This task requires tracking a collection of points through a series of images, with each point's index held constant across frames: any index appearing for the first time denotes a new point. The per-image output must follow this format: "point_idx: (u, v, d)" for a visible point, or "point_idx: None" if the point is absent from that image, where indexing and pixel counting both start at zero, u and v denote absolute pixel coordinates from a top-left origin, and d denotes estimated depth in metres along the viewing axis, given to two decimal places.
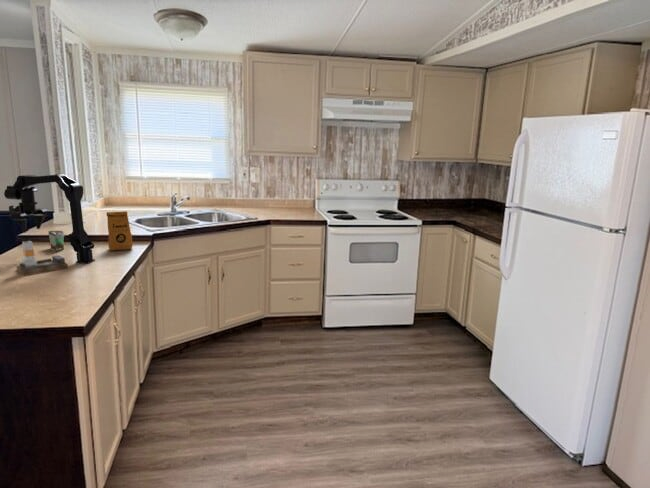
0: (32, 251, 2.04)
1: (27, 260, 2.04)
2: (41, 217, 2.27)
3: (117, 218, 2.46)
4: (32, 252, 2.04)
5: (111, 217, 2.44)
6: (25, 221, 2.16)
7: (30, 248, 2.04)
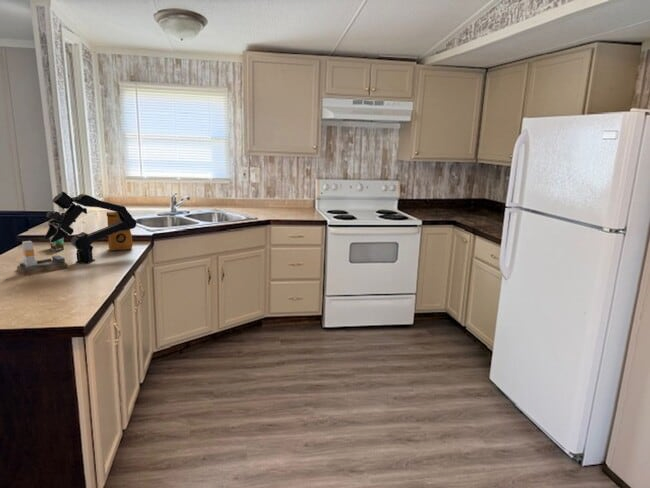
0: (32, 251, 2.04)
1: (27, 260, 2.04)
2: None
3: (117, 218, 2.46)
4: (32, 252, 2.04)
5: (111, 217, 2.44)
6: None
7: (30, 248, 2.04)
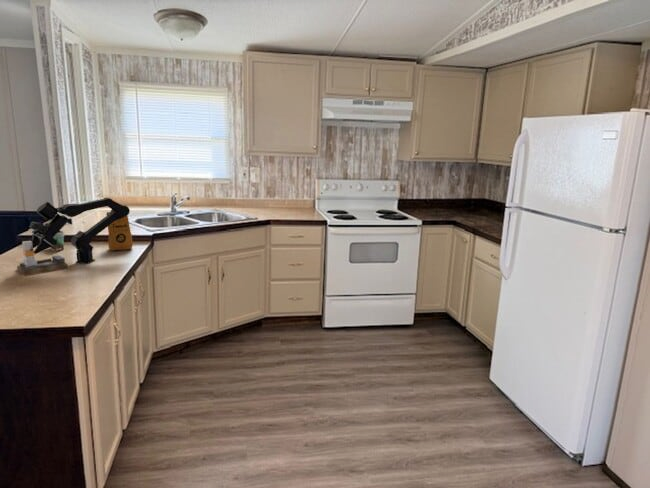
0: (32, 251, 2.04)
1: (27, 260, 2.04)
2: None
3: None
4: (32, 252, 2.04)
5: None
6: None
7: (30, 248, 2.04)
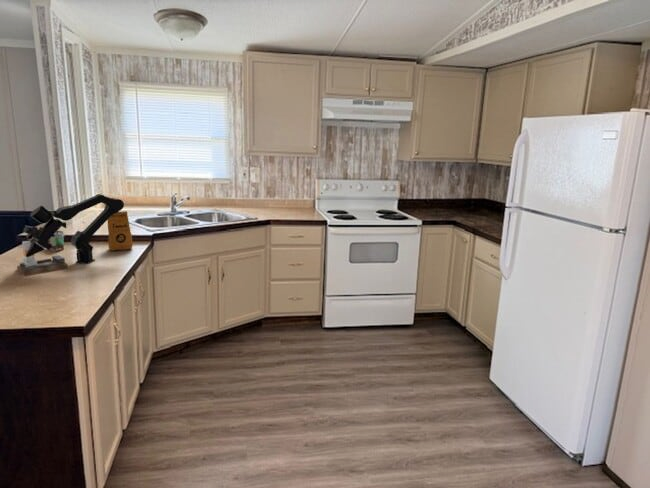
0: None
1: (27, 260, 2.04)
2: None
3: (117, 218, 2.46)
4: None
5: (111, 217, 2.44)
6: None
7: (30, 248, 2.04)
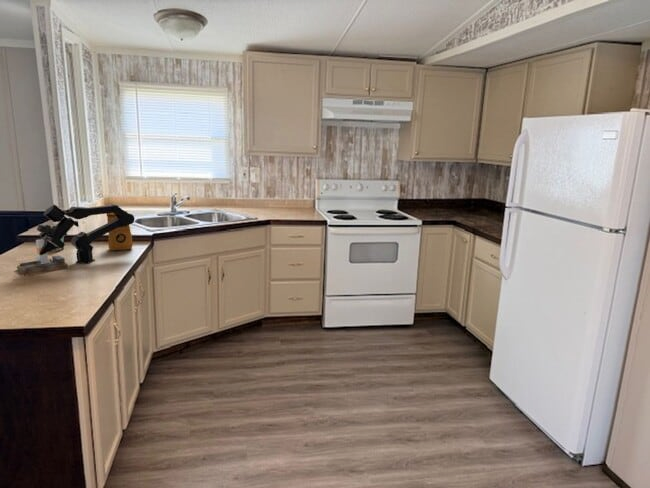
0: None
1: (40, 258, 2.07)
2: None
3: None
4: None
5: (111, 217, 2.44)
6: None
7: (43, 246, 2.07)
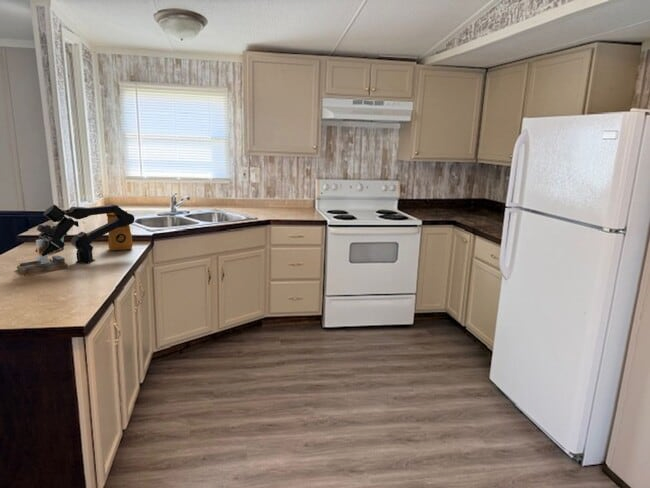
0: None
1: (40, 258, 2.07)
2: None
3: None
4: None
5: (111, 217, 2.44)
6: None
7: (43, 246, 2.07)
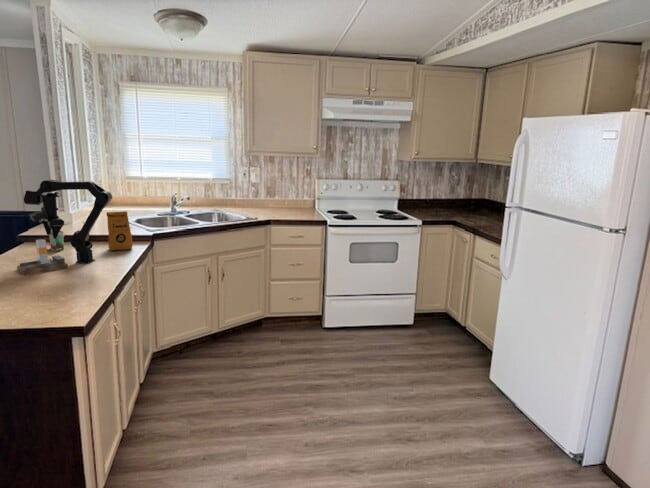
0: (45, 249, 2.08)
1: (40, 258, 2.07)
2: None
3: (117, 218, 2.46)
4: (46, 250, 2.08)
5: (111, 217, 2.44)
6: None
7: (43, 246, 2.07)
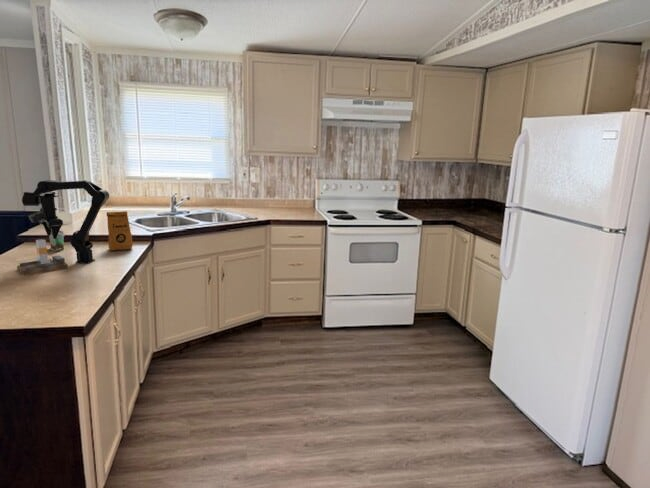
0: (45, 249, 2.08)
1: (40, 258, 2.07)
2: None
3: (117, 218, 2.46)
4: (46, 250, 2.08)
5: (111, 217, 2.44)
6: None
7: (43, 246, 2.07)
